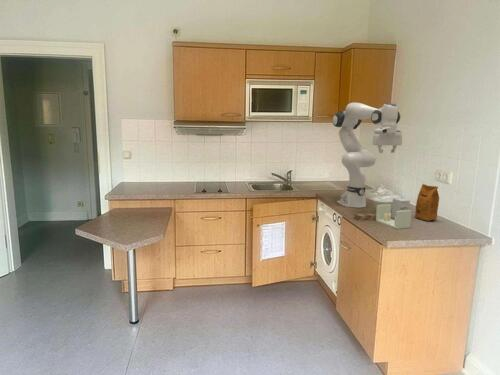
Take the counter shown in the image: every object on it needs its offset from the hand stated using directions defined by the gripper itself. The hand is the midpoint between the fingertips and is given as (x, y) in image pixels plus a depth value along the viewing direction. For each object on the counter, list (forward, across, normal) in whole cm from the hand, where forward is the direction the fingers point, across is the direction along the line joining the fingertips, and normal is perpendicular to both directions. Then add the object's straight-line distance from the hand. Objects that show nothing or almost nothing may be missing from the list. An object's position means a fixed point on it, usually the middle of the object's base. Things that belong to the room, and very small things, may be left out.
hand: (386, 152), depth 222 cm
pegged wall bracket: (+42, +4, +15) cm, 44 cm away
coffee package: (+42, -26, +11) cm, 50 cm away
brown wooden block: (+42, +13, +2) cm, 44 cm away
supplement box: (+42, -10, +6) cm, 43 cm away
